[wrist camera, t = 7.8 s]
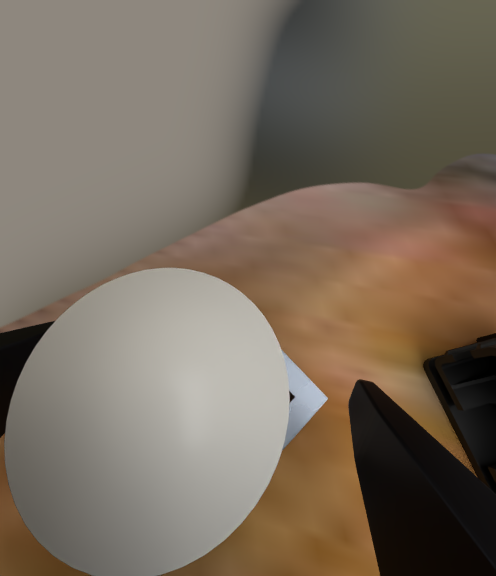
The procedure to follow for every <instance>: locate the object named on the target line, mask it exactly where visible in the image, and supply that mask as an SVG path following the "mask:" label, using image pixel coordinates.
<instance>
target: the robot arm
mask: <svg viewBox="0 0 496 576" xmlns="http://www.w3.org/2000/svg"><path fill="white" fill-rule="evenodd" d="M54 322H55V321H53V322H48V323H44V324H39V325H35V326H30V327H26V328H21V329H17V330H13V331H8V332H4V333H0V437H1V436H2V435H3V434H4V433H5V430H6V421H7V416H8V411H9V407H10V402H11V399H12V396H13V393H14V390H15V387H16V384H17V381H18V379H19V376H20V374H21V372H22V370H23V368H24V365H25V363H26V362H27V360H28V358H29V356H30V355H31V353H32V351H33V350H34V348H35V346H36V345H37V344H38V342H39V341H40V339H41V338H42V337H43V335H44V334H45V333H46V331H47V330H48V329H49V328H50V327H51V326H52V324H53V323H54ZM349 416H350V424H351V433H352V442H353V450H354V458H355V463H356V469H357V473H358V478H359V482H360V487H361V491H362V496H363V500H364V505H365V509H366V514H367V518H368V523H369V527H370V532H371V536H372V541H373V545H374V550H375V554H376V558H377V563H378V567H379V572H380V576H496V494H495V493H494V492H493V491H492V490H491V489H489V488H488V487H487V486H486V485H485V484H484V483H483V482H482V481H481V480H480V479H479V478H477V477H476V476H475V475H474V474H473V473H472V472H471V471H470V470H469V469H468V468H466V467H465V466H464V465H463V464H462V463H461V462H460V461H459V460H458V459H457V458H455V457H454V456H453V455H452V454H451V453H450V452H449V451H448V450H447V449H446V448H445V447H443V446H442V445H441V444H440V443H439V442H438V441H437V440H436V439H435V438H434V437H432V436H431V435H430V434H429V433H428V432H427V431H426V430H425V429H424V428H423V427H421V426H420V425H419V424H418V423H417V422H416V421H415V420H414V419H413V418H412V417H411V416H409V415H408V414H407V413H406V412H405V411H404V410H403V409H402V408H401V407H400V406H398V405H397V404H396V403H395V402H394V401H393V400H392V399H391V398H390V397H389V396H387V395H386V394H385V393H384V392H383V391H382V390H381V389H380V388H379V387H378V386H377V385H375V384H374V383H373V382H371V381H366V380H361V379H360V380H357V382H356V383H355V386H354V389H353V391H352V394H351V397H350V399H349Z"/></svg>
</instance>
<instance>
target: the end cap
mask: <svg viewBox="0 0 496 576" xmlns="http://www.w3.org/2000/svg"><path fill="white" fill-rule="evenodd" d="M476 341H477V343H475V344H471V345H467V346H464V347H460V348H456V349H452V350H449V351H446V353H445V355H441V356H437V357H434V358H430V359H427V360H426V361H425V362H424V365H423V366H424V370H425V372H426V374H427V376H428V378H429V380H430V382H431V384H432V386H433V388H434V390H435V392H436V394H437V396H438V398H439V400H440V402H441V404H442V406H443V408H444V410H445V412H446V414H447V416H448V418H449V420H450V422H451V424H452V426H453V428H454V430H455V432H456V434H457V436H458V438H459V440H460V442H461V444H462V446H463V448H464V450H465V452H466V454H467V456H468V458H469V460H470V462H471V464H472V466H473V468H474V470H475V472H476V474H477V476H478V478H479V479H480V480H481V481H482V482H483V483H484V484H485V485H486V486H487V487H488V488H489V489H491V490H492V491H493V492H494V493H495V494H496V333H495V334H491V335H487V336H483V337H479V338H477V340H476Z"/></svg>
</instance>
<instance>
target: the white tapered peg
mask: <svg viewBox="0 0 496 576" xmlns="http://www.w3.org/2000/svg"><path fill="white" fill-rule="evenodd" d="M289 402H290V396H289V381H288V375H287V370H286V364H285V360H284V357H283V354H282V351H281V348H280V344H279V342H278V340H277V338H276V336H275V334H274V332H273V329H272V328H271V326H270V325H269V323H268V322H267V320H266V318H265V317H264V315H263V314H262V313H261V312H260V311H259V309H258V308H257V307H256V306H255V305H254V303H253V302H251V301H250V300H249V299H248V298H247V297H246V296H245V295H244V294H243V293H241V292H240V291H239V290H237V289H236V288H234V287H233V286H231V285H230V284H228V283H226V282H224V281H222V280H220V279H219V278H216V277H214V276H211V275H208V274H206V273H202V272H198V271H194V270H189V269H180V268H157V269H149V270H143V271H139V272H134V273H130V274H127V275H125V276H122V277H119V278H116V279H114V280H112V281H110V282H107V283H105V284H103V285H101V286H99V287H98V288H96V289H94V290H93V291H91V292H89V293H88V294H86V295H85V296H84V297H82V298H81V299H80V300H78V301H77V302H76V303H74V304H73V305H72V306H71V307H70V308H68V309H67V310H66V311H65V312H64V313H63V314H62V315H61V316H60V317H59V318H58V319H57V320H56V321H55V322H54V323H53V324H52V326H51V327H50V328H49V329H48V330H47V331H46V333H45V334H44V335H43V337H42V338H41V339H40V341H39V342H38V344H37V345H36V346H35V348H34V350H33V351H32V353H31V355H30V356H29V358H28V360H27V362H26V363H25V365H24V368H23V370H22V372H21V374H20V376H19V379H18V381H17V384H16V387H15V390H14V393H13V396H12V399H11V402H10V407H9V411H8V416H7V421H6V430H5V441H4V446H5V466H6V472H7V478H8V484H9V487H10V490H11V493H12V497H13V500H14V503H15V506H16V508H17V509H18V511H19V513H20V515H21V517H22V519H23V521H24V523H25V525H26V526H27V528H28V529H29V530H30V532H31V533H32V534H33V536H34V537H35V538H36V540H37V541H38V542H39V543H40V544H41V545H42V546H43V547H44V548H46V549H47V550H48V551H49V552H50V553H51V554H52V555H53V556H54V557H56V558H58V559H59V560H61V561H62V562H64V563H66V564H67V565H69V566H70V567H72V568H75V569H77V570H80V571H82V572H85V573H88V574H90V575H93V576H158V575H162V574H165V573H167V572H170V571H173V570H176V569H179V568H181V567H184V566H186V565H187V564H189V563H191V562H193V561H195V560H197V559H198V558H200V557H202V556H204V555H206V554H207V553H208V552H210V551H211V550H212V549H214V548H215V547H216V546H218V545H219V544H220V543H222V542H223V541H224V540H225V539H226V538H227V537H228V536H229V535H230V534H231V533H232V532H233V531H234V530H235V529H236V528H237V527H238V526H239V525H240V524H241V523H242V522H243V521H244V520H245V518H246V517H247V516H248V515H249V513H250V512H251V511H252V509H253V508H254V507H255V505H256V504H257V503H258V501H259V499H260V498H261V496H262V494H263V493H264V491H265V489H266V487H267V486H268V484H269V482H270V480H271V478H272V475H273V473H274V471H275V468H276V466H277V464H278V461H279V458H280V455H281V452H282V448H283V445H284V442H285V437H286V431H287V425H288V420H289Z"/></svg>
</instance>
